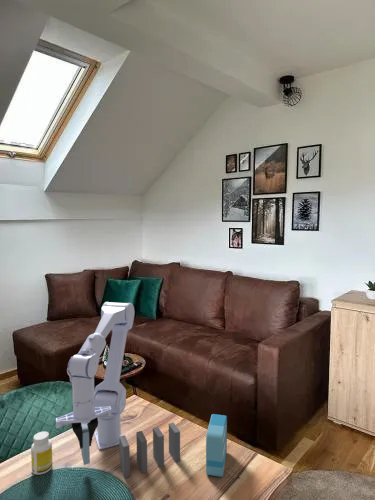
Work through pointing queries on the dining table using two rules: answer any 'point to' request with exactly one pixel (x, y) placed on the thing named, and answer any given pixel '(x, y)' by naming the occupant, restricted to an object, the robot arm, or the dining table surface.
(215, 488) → the dining table surface
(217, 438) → the data package
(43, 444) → the supplement bottle
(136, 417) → the dining table surface
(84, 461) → the slate domino
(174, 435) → the domino
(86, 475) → the dining table surface
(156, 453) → the domino
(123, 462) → the domino
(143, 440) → the domino
